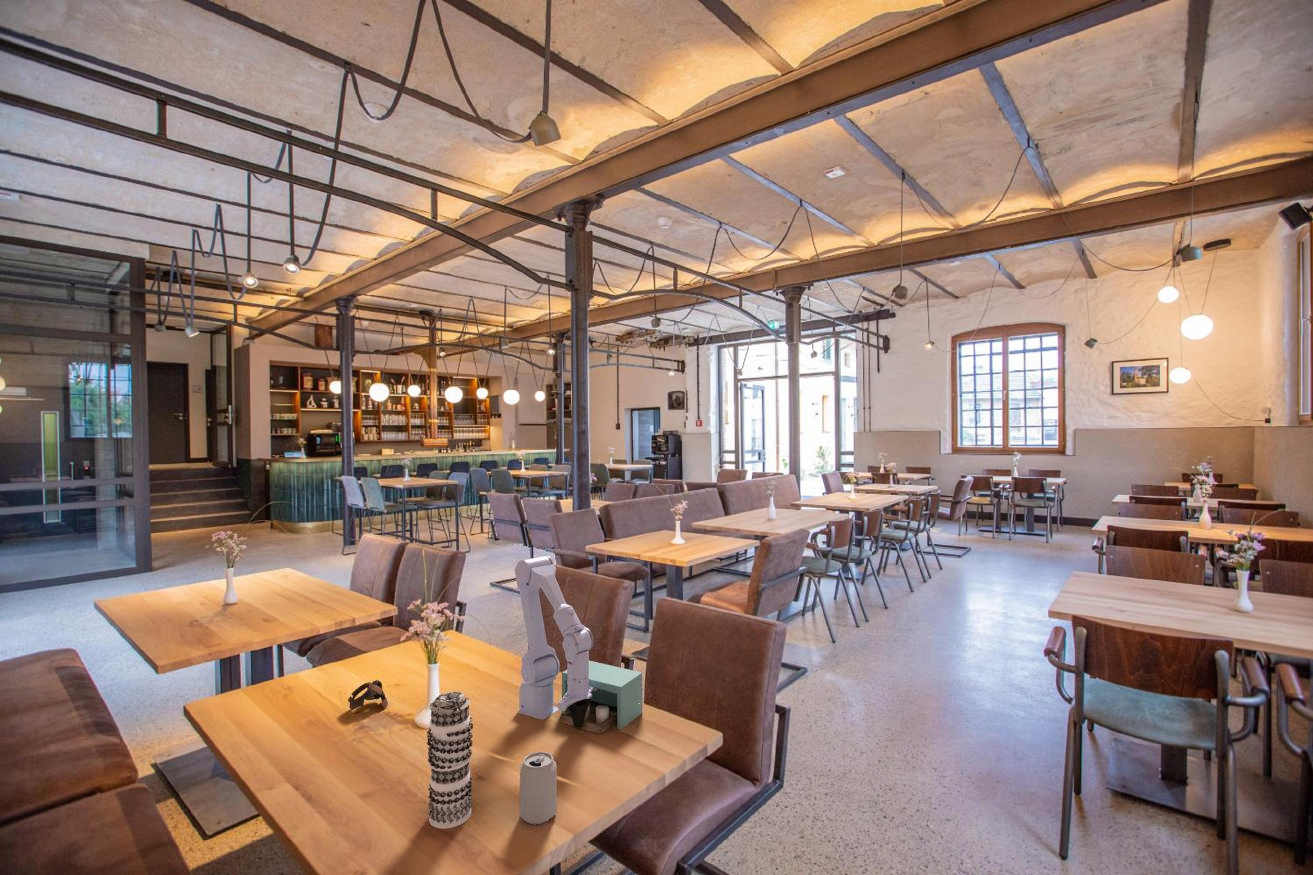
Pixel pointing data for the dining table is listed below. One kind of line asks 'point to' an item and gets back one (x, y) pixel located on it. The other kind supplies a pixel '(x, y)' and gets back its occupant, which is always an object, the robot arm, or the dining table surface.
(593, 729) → the tray
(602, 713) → the pale pink cylinder
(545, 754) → the can
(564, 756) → the dining table surface
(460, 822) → the decorative candle
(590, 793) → the dining table surface
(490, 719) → the dining table surface
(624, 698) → the box
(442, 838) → the dining table surface
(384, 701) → the dark brown looped arch
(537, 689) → the robot arm
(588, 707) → the cup
